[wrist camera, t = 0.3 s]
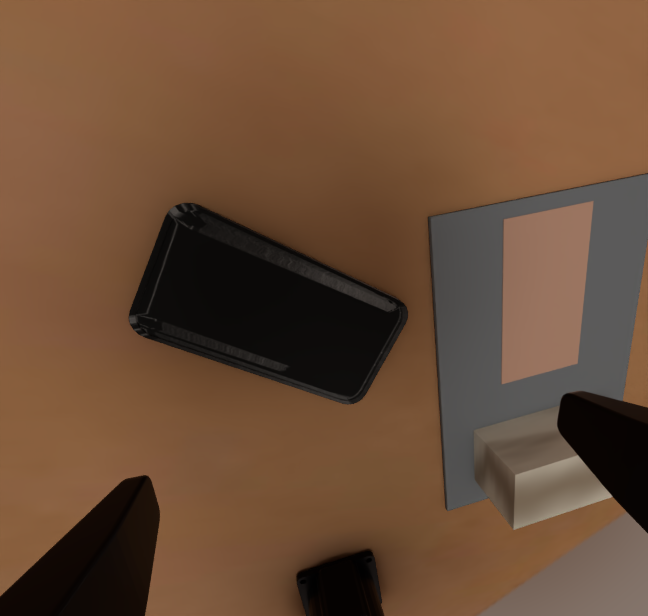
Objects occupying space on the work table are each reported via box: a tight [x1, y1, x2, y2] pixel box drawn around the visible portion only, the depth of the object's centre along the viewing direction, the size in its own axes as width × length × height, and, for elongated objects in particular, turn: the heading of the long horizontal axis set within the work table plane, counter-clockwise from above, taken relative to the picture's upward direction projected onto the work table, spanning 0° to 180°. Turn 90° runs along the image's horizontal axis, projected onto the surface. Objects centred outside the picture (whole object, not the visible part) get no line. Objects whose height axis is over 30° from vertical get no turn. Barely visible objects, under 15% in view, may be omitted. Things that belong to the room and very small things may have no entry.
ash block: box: [474, 405, 612, 530], centre depth 26 cm, size 5×11×4 cm, turn 100°
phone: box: [129, 203, 408, 404], centre depth 21 cm, size 8×1×15 cm
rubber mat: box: [428, 173, 648, 511], centre depth 26 cm, size 24×16×1 cm, turn 10°
